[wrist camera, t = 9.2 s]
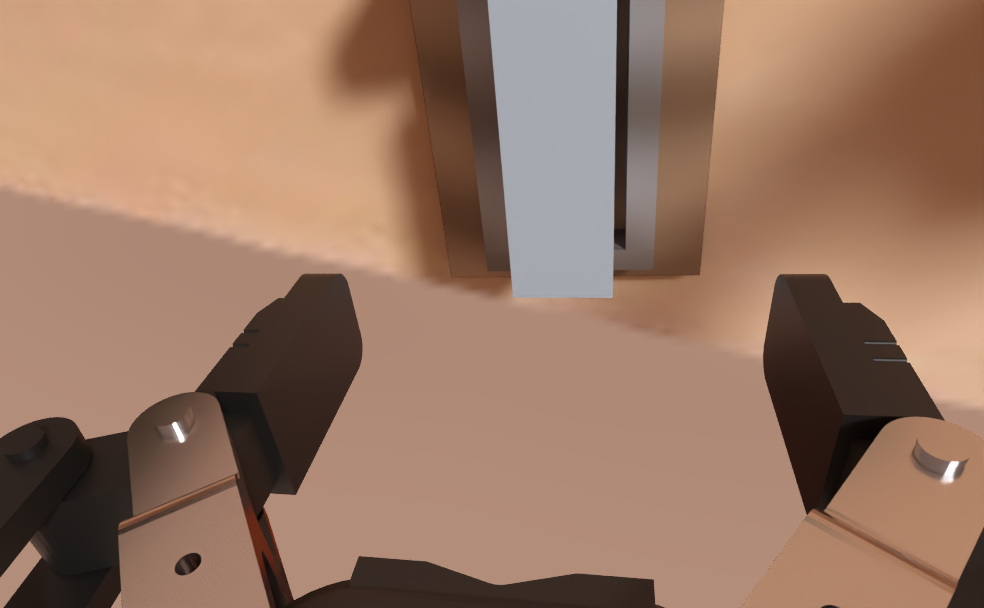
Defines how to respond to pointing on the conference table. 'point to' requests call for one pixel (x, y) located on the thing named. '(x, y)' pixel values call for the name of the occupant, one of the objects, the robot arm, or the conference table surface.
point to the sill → (638, 132)
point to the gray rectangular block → (557, 142)
